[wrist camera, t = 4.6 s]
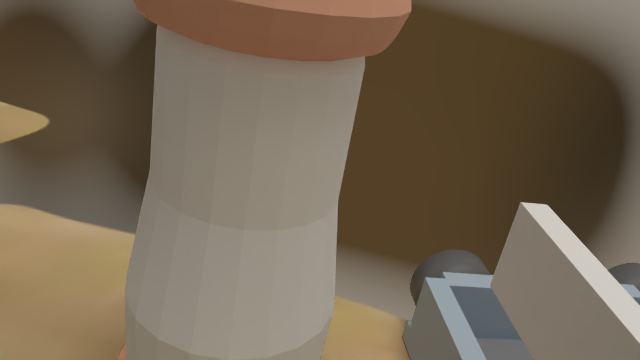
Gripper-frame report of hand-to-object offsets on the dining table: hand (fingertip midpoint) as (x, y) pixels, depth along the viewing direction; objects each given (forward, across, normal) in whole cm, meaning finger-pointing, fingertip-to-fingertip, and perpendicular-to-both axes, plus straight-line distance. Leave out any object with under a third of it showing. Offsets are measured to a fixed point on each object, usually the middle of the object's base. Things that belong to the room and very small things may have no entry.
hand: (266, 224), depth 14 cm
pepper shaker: (+3, -1, -11) cm, 11 cm away
